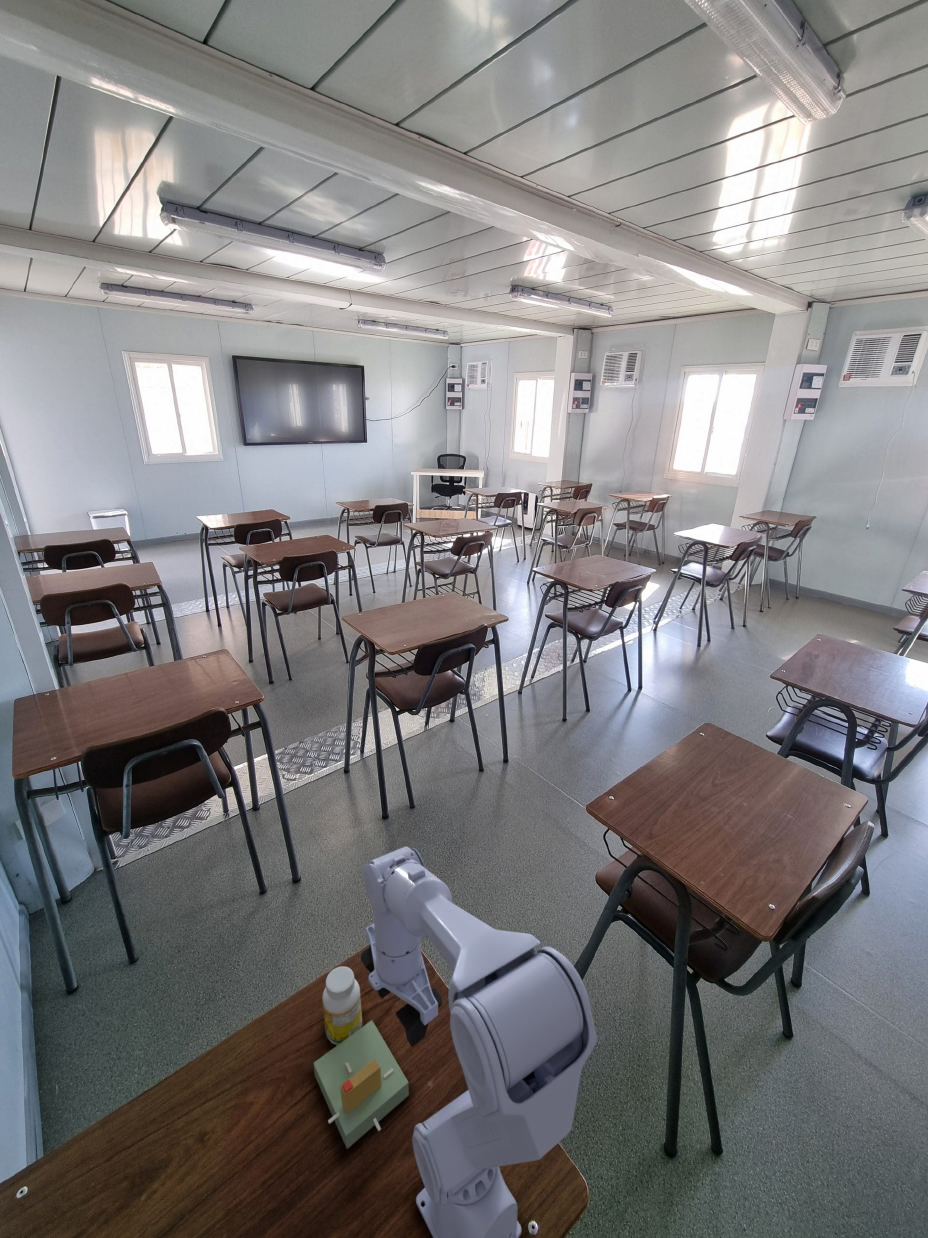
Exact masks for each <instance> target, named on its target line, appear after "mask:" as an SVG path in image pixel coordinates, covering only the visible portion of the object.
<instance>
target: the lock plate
mask: <svg viewBox="0 0 928 1238" xmlns="http://www.w3.org/2000/svg"><path fill="white" fill-rule="evenodd" d="M374 1059H376V1060H377V1062H378V1064H379V1066H380V1069H381V1087H379V1088H378V1089H377V1090H376V1091H374V1092H373V1093H372V1094H371V1095H370V1096H368V1097H367V1098H366V1099H365V1100H363V1101H362V1102H361V1103H360V1104H359V1105H357V1106H356V1107H355V1108H354V1109H352V1110H351V1111H350V1112H349V1113H348V1114H346V1112H345V1110H344V1108H343V1106H342V1098H341V1087H340V1086H341V1085H342V1084H343V1083H345V1082H346V1081H347V1080H349V1079H350V1078H351V1077H352V1076H354V1075H355V1074H356V1073H358V1072H359V1071H360V1070H362V1069H363V1068H364V1067H365V1066H367V1065H368V1064H369V1063H371V1062H372V1061H373V1060H374ZM312 1064H313V1073H314V1077H315V1080H316V1081H317V1084H318V1086H319V1088H320V1091H321V1093H322V1094H323V1097H324V1100H325V1102H326V1104H327V1106H328V1109H329V1112H330V1114H331V1116H332V1117H330V1118H329V1119H328V1120H327V1122H328V1124H329V1125H331V1124H332V1123H333V1122H334V1123H335V1125H336V1127H337V1130H338V1132H339V1134H340V1137H341V1139H342V1141H343V1143H344V1145H345V1148H346V1149H349V1148H350V1147H352V1145H354V1144H355V1143H356V1142H357V1141H358V1140H360V1139H361V1138H362V1137H363V1136H364V1135H365V1134H366V1133H367V1132H369V1130H371V1129H372V1128H374V1126H375V1128H376V1129H377V1132H380V1131H381V1130H382V1128H381V1126H380V1123H379V1122H380V1121H381V1120H382V1119H384V1117H386V1116H387V1115H388V1114H389V1113H391V1112H392V1111H393V1110H394V1109H395V1108H396V1107H397V1106H398V1105H399V1104H401V1103H402V1102H403V1101H404V1100H405V1099H406V1098H408V1097H409V1095H410V1091H409V1090H410V1089H409V1086H410V1085H409V1081H408V1079H407V1077H406V1076H405V1074H404V1072H403V1071H402V1069H401V1067H400V1066H399V1064H398V1062H397V1061H396V1059H395V1057H394V1055H393V1054H392V1052H391V1050H390V1049H389V1047H388V1045H387V1043H386V1041H385V1040H384V1039H383V1036H382V1034H381V1033H380V1032H379V1029H378V1028H377V1026H376V1024H375V1023H374V1021H373V1020H372V1019H371V1020H370V1021H368V1022H367V1023H366V1024H365V1025H362V1027H361V1029H359V1030H358V1031H356V1032H355V1033H354V1034H352V1035H351V1036H350V1037H348V1038H347V1039H345V1040H344V1041H343V1042H341V1043H340V1044H339V1045H336V1046H335V1047H333V1048H331V1050H329V1051H328V1052H326V1053H324V1055H322V1056H321V1057H320V1058H318V1059H317V1060H315V1061H314V1062H313V1063H312Z"/></svg>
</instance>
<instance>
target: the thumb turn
mask: <svg viewBox="0 0 928 1238" xmlns="http://www.w3.org/2000/svg"><path fill="white" fill-rule="evenodd" d="M340 1087H341V1098H342V1106H343V1108H344V1110H345V1112H346V1114H348V1113H349V1112H350V1111H351V1110H352V1109H354V1108H355V1107H356V1106H357V1105H359V1104H360V1103H361V1102H362V1101H363V1100H365V1099H366V1098H367V1097H368V1096H370V1095H371V1094H372V1093H373V1092H374V1091H376V1090H377V1089H378V1088H379V1087H381V1069H380V1066H379V1064H378V1062H377V1060H376V1059H374V1060H373V1061H372V1062H371V1063H369V1064H368V1065H367V1066H365V1067H364V1068H363V1069H362V1070H360V1071H359V1072H358V1073H356V1074H355V1075H354V1076H352V1077H351V1078H350V1079H349V1080H347V1081H346V1082H345V1083H343V1084H342V1085H341V1086H340Z"/></svg>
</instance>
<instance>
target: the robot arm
mask: <svg viewBox="0 0 928 1238" xmlns="http://www.w3.org/2000/svg"><path fill="white" fill-rule="evenodd" d="M362 870H363V881H364V886H365V890H366V893H367V896H368V899H369V902H370V904H371V906H372V915H373V923H371V924H370V925H369V926H367V927H365V940H366V941H367V942H368V944H369V946H368V948H366V949H364V951H362V953H361V954H360V961H361V962H362V964H363V965H364V968H365V969H366V970H368V972H369V975H368V982H369V984H370V986H371V988H372V989H373V990H374V991H376V992H377V994H378V996H379V998H380V999H381V1000H382V999H384V998H385V997H387V996H388V995H389V994H394V995H395V996H396V997H398V998H399V999H401V1000H402V1001H404V1002H405V1005H403V1006H402V1007H401V1008H400V1009H398V1010H397V1011H396V1012H395V1016H396V1018H397V1019H398V1021H399V1022H400V1024H401V1025H402V1027H403V1028H404V1030H405V1036H406V1040H407V1042H408V1044H409V1045H410V1047H411V1048H413V1047H415V1046H416V1045H417V1044H419V1042H421V1041H422V1040H423V1039H425V1037H426V1033H427V1031H428V1027H429V1024H430V1022H431V1021H433V1020H434V1019H435V1018H436V1017H437V1016H439V1009H440V1008H441V1006H442V1005H443V997H442V995H441V994H440V993H439V991H438V990H437V988H436V987H435V986H433V987H432V986H431V984H430V980H429V976H428V972H427V969H426V965H425V962H424V961H425V960H424V958H423V955H422V939H426V938H428V939H429V941H430V942H431V943H432V944H433V946H434V947H435V949H436V950H437V952H438V953H439V955H440V956H441V958H442V959H443V960H444V962H445V963H446V964H447V966H448V967H449V968H450V970H451V971H452V975H451V978H450V981H449V985H448V995H447V997H448V1008H449V1013H450V1017H449V1027H450V1034H451V1038H452V1042H453V1046H454V1050H455V1053H456V1056H457V1058H458V1062H459V1064H460V1066H461V1069H462V1072H463V1076H464V1079H465V1083H466V1087H467V1090H466V1091H464V1092H463V1093H462V1094H460V1095H459V1096H458V1097H456V1098H454V1099H453V1100H452V1101H451V1102H449V1103H447V1104H446V1105H445V1106H444V1107H442V1108H441V1109H440V1110H438V1111H436V1112H435V1113H434V1114H432V1115H431V1116H430V1117H428V1118H427V1119H426V1120H424V1121H423V1122H418V1123H417V1124H416V1125H415V1126H414V1128H413V1134H412V1139H411V1141H412V1149H413V1154H414V1159H415V1162H416V1165H417V1168H418V1171H419V1175H420V1178H421V1180H422V1183H423V1186H424V1188H423V1189H422V1190H421V1191H420V1192H419V1193H418V1194H417V1196H416V1197H415V1203H416V1207H417V1208H418V1210H419V1212H420V1214H421V1216H422V1218H423V1220H424V1222H425V1225H426V1226H427V1229H428V1230H429V1232H430V1235H431V1236H432V1238H520V1237H521V1236H522V1226H521V1223H519V1221H518V1212H519V1206H518V1203H517V1201H516V1199H515V1197H514V1196H513V1194H512V1193H511V1191H510V1189H509V1188H508V1186H507V1184H506V1182H505V1180H504V1177H503V1175H502V1172H501V1168H500V1167H505V1166H510V1165H516V1164H523V1163H529V1162H535V1161H539V1160H541V1159H542V1158H543V1157H545V1155H547V1154H548V1153H549V1152H550V1151H551V1150H552V1149H553V1148H555V1146H557V1145H558V1144H559V1143H560V1142H561V1141H562V1140H564V1139H565V1138H566V1137H567V1136H568V1135H569V1133H570V1132H571V1131H572V1128H573V1123H574V1117H575V1112H576V1104H577V1099H578V1094H579V1087H580V1081H581V1075H582V1071H583V1068H584V1066H585V1064H586V1062H587V1060H588V1059H589V1057H590V1055H591V1054H592V1051H593V1050H594V1048H595V1046H596V1044H597V1042H598V1036H597V1030H596V1027H595V1020H594V1017H593V1013H592V1008H591V1001H590V997H589V994H588V991H587V988H586V987H585V984H584V982H583V980H582V978H581V976H580V974H579V973H578V970H577V969H576V967H575V966H574V965H573V963H571V961H570V960H569V959H568V958H567V957H566V956H565V955H564V954H562V953H561V952H560V951H558V950H556V949H555V948H553V947H551V946H543V947H541V948H539V949H538V950H537V951H536V950H535V949H534V948H537V946H538V947H539V945H541V944H542V942H540V940H538V939H537V938H536V936H534V935H533V934H531V933H526V932H525V933H524V932H518V931H517V932H516V931H509V930H500V929H495V928H493V927H492V926H490V925H489V924H488V923H485V922H484V921H482V920H480V919H479V918H478V917H476V916H475V915H472V914H470V913H469V912H468V911H466V910H465V909H463V908H461V907H460V906H458V905H456V904H455V903H453V895H452V893H451V889H450V888H449V886H448V885H447V884H446V883H445V882H444V881H443V880H442V879H440V878H439V877H437V876H436V875H435V874H433V873H432V872H431V871H430V870H428V869H427V868H426V866H425V862H424V860H423V858H422V856H421V854H420V852H419V851H418V849H416V848H414V847H412V848H410V847H409V846H406V845H405V846H403V847H401V848H399V849H396V850H393V851H391V852H388V853H386V854H383V855H380V856H379V857H377V858H376V857H375V858H374V859H371V860H369V862H368V863H364V865H363V869H362ZM422 1204H424V1206H422Z"/></svg>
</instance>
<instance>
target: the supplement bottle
mask: <svg viewBox="0 0 928 1238" xmlns="http://www.w3.org/2000/svg"><path fill="white" fill-rule="evenodd" d="M321 999H322V1008H323V1019H324V1029H325V1035H326V1037H327V1039H328V1040H329V1042H330V1043H331V1044H333V1045H336V1046H337V1045H339V1044H340V1043H341V1042H343V1041H344V1040H345V1039H347V1038H348V1037H350V1036H351V1035H352V1034H354V1033H355V1032H356V1031H358V1030H359V1029H361V1028H362V1027H363V1013H362V1003H361V1002H362V1000H361V989H360V983H358V981H357V979H356V978H355V974H354V972H353V970H352V969H351V968H350V967H348V966H338V967H336V968H335V967H334V968H333V969H332V970H331V971H330V972H329V973H328V975H327V977H326V979H325V988H324V990H323V992H322V998H321Z"/></svg>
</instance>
